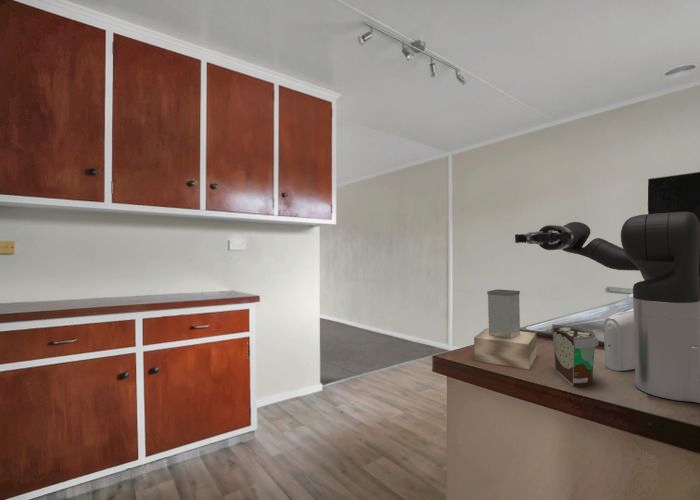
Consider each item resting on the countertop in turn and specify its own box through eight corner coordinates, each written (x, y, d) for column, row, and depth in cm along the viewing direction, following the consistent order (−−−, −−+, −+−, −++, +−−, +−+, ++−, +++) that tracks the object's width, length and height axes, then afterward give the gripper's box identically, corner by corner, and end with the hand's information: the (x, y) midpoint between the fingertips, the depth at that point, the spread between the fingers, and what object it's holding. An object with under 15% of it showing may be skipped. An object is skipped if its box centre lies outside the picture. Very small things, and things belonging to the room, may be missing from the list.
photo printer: (620, 373, 74) (619, 315, 74) (601, 366, 78) (599, 312, 78) (655, 367, 77) (654, 312, 77) (635, 361, 81) (633, 308, 81)
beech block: (536, 356, 88) (536, 332, 88) (528, 370, 78) (528, 344, 78) (487, 349, 95) (487, 327, 95) (474, 361, 85) (474, 337, 85)
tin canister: (520, 334, 86) (519, 290, 86) (510, 338, 82) (509, 292, 82) (498, 331, 90) (497, 289, 90) (488, 335, 87) (487, 291, 87)
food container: (612, 391, 65) (611, 338, 65) (576, 389, 66) (575, 337, 66) (582, 368, 77) (581, 324, 77) (552, 367, 78) (551, 323, 78)
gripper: (582, 249, 101) (561, 250, 90) (531, 250, 111) (507, 251, 101) (581, 223, 101) (560, 222, 90) (530, 227, 111) (506, 225, 101)
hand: (532, 237), depth 96 cm, fingers open, 8 cm apart
